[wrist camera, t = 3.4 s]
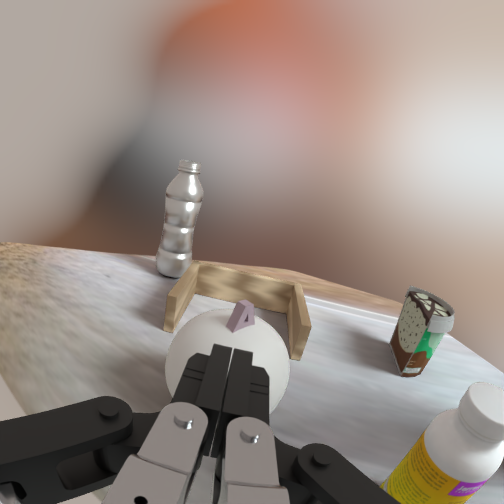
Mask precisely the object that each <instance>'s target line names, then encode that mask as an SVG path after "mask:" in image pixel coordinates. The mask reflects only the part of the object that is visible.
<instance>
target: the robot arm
mask: <svg viewBox="0 0 504 504" xmlns="http://www.w3.org/2000/svg"><path fill="white" fill-rule="evenodd" d="M231 353H232V347H227V346H223V345H219V344H215V343H214V344H213V347H212V351H211V354H210V356H209V355H205V354H201V353H196V354H194V355H193V356H191V357H190V358H189V359H188V361H187V363H186V366H185V369H184V371H183V373H182V376H181V378H180V381H179V383H178V386H177V388H176V391H175V393H174V396H173V398H172V401H171V403H170V404H168V405H166V406H165V407H164V408H163V409H162V410H161V411H160V412H156V413H133V412H132V410H131V408H130V406H129V405H128V404H127V403H126V402H124V401H123V400H121V399H118V398H115V397H111V396H101V397H97V398H94V399H90V400H87V401H83V402H79V403H76V404H72V405H68V406H65V407H61V408H57V409H53V410H49V411H45V412H41V413H37V414H32V415H28V416H24V417H19V418H15V419H10V420H5V421H0V504H57V503H60V502H63V501H66V500H69V499H73V498H75V497H78V496H81V495H84V494H87V493H90V492H92V491H95V490H98V489H100V488H103V487H106V486H108V485H111V484H112V486H111V488H110V489H109V491H108V493H107V495H106V496H105V498H104V500H103V502H102V503H101V504H186V502H187V499H188V497H189V494H190V491H191V488H192V485H193V482H194V479H195V476H196V473H197V470H198V469H199V468H200V465H201V461H202V457H203V455H204V456H209V452H210V448H211V444H212V441H213V437H214V433H215V437H214V442H213V447H212V452H211V457H214V458H217V461H216V466H215V470H214V473H213V478H212V491H211V504H401V503H400V502H399V501H397V500H396V499H395V498H393V497H392V496H391V495H389V494H388V493H387V492H386V491H384V490H383V489H382V488H380V487H379V486H378V485H377V484H375V483H374V482H373V481H372V480H370V479H369V478H368V477H367V476H366V475H364V474H363V473H362V472H361V471H360V470H358V469H357V468H356V467H355V466H354V465H352V464H351V463H350V462H349V461H348V460H346V459H345V458H344V457H343V456H342V455H341V454H339V453H338V452H337V451H336V450H335V449H333V448H331V447H329V446H327V445H324V444H317V443H314V444H308V445H306V446H304V447H303V448H302V449H301V450H300V449H298V448H295V447H292V446H290V445H287V444H285V443H283V442H281V441H280V440H279V439H277V438H276V437H275V436H274V434H273V431H272V429H271V428H270V427H269V390H270V388H269V386H270V377H269V375H268V373H267V372H266V370H265V368H263V367H258V366H253V365H252V360H253V352H250V351H245V350H241V349H236V348H234V350H233V354H232V358H231ZM230 358H231V363H230ZM229 363H230V367H229ZM228 368H229V371H228ZM227 373H228V375H227ZM226 378H227V379H226ZM217 421H218V422H217ZM216 425H217V427H216ZM215 429H216V432H215Z"/></svg>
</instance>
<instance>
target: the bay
mask: <svg viewBox="0 0 504 504" xmlns="http://www.w3.org/2000/svg"><path fill="white" fill-rule="evenodd" d="M194 294H200V295H204V296H208V297H212V298H217V299H221V300H225V301H230V302H234V303H237V302H238V301H241V300H247V301H249V302H251V303H252V304H254V307H257V308H262V309H266V310H271V311H276V312H281V313H286V315H287V325H288V335H289V345H290V356H291V359H294V360H300V359H301V356H302V353H303V351H304V348H305V345H306V342H307V339H308V336H309V333H310V330H311V327H312V326H311V322H310V318H309V314H308V310H307V306H306V302H305V298H304V294H303V290H302V286H301V284H298V283H293V282H289V281H284V280H279V279H275V278H270V277H266V276H261V275H256V274H252V273H247V272H243V271H238V270H234V269H229V268H225V267H221V266H216V265H212V264H207V263H203V262H199V261H193V262H192V263H191V265H190V266H189V267H188V269H187V270H186V271H185V273H184V274H183V275H182V276H181V278H180V279H179V280H178V282H177V283H176V284H175V286H174V287H173V288H172V290H171V291H170V292H169V294H168V295H167V303H166V312H165V321H164V331H167V332H171V333H173V331H174V330H175V328H176V326H177V324H178V322H179V321H180V319H181V317H182V315H183V313H184V312H185V310H186V308H187V306H188V304H189V303H190V301H191V299H192V297H193V296H194Z"/></svg>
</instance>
